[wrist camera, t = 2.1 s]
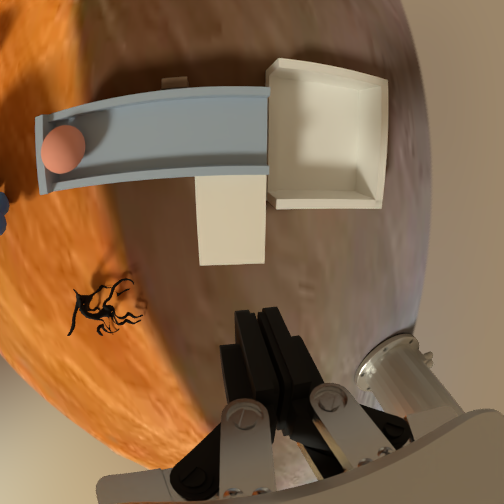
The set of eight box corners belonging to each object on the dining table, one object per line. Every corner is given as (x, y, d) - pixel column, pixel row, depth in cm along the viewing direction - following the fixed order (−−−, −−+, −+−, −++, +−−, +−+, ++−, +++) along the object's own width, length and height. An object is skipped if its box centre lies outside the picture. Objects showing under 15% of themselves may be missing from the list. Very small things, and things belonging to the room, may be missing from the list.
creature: (151, 279, 28) (81, 258, 24) (156, 312, 23) (72, 289, 19) (132, 331, 30) (70, 315, 26) (135, 365, 25) (64, 349, 21)
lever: (264, 92, 18) (272, 83, 15) (261, 255, 23) (268, 275, 20) (58, 116, 16) (35, 115, 13) (75, 261, 21) (58, 279, 18)
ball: (93, 120, 16) (65, 120, 12) (95, 166, 17) (68, 174, 14) (59, 129, 16) (30, 132, 12) (61, 172, 17) (34, 180, 14)
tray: (362, 85, 22) (388, 80, 18) (357, 197, 27) (381, 208, 23) (265, 70, 20) (278, 57, 16) (264, 197, 25) (276, 209, 21)
